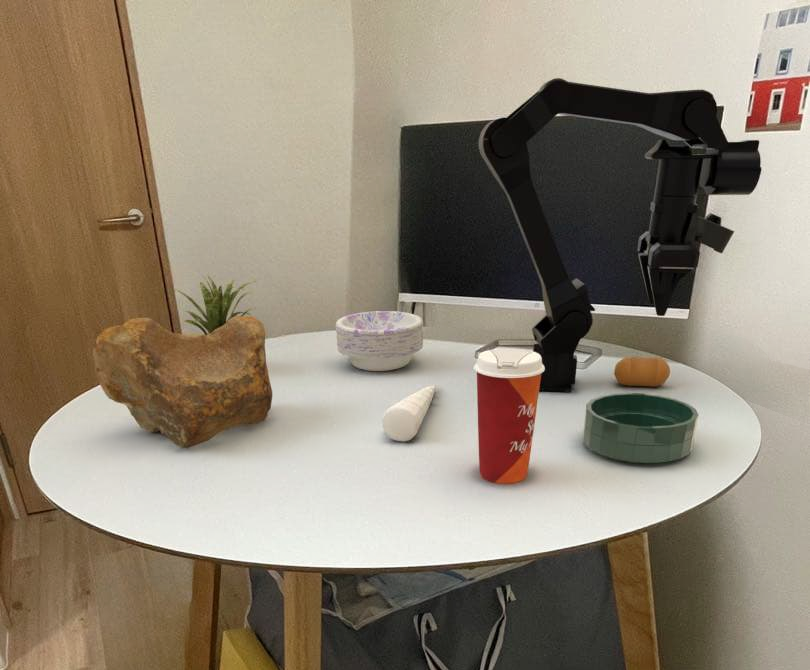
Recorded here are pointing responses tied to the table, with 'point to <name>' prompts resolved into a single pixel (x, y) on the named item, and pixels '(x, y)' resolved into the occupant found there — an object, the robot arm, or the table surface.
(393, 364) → the paper bowls
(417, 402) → the unicorn horn
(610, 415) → the green pet bowl
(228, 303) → the house plant
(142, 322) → the rough brown rock
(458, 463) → the table surface
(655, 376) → the bread roll
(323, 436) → the table surface
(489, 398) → the paper cup
